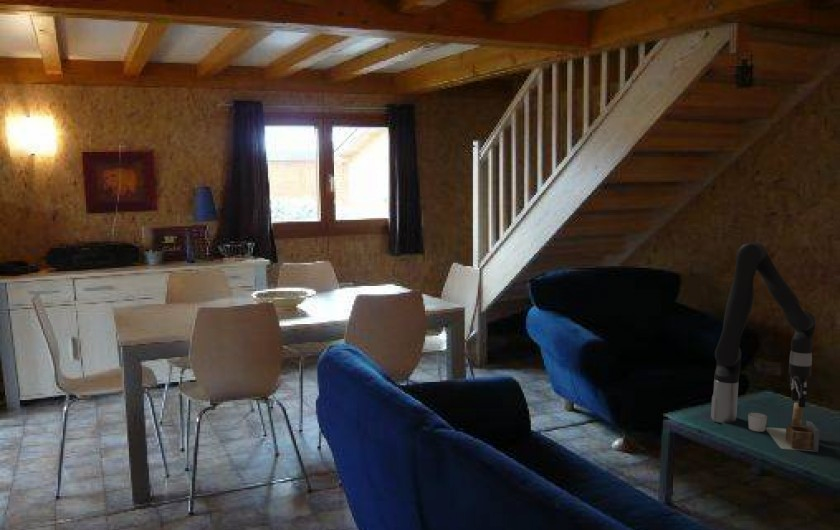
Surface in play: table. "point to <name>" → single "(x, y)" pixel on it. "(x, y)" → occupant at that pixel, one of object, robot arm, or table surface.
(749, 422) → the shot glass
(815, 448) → the wall
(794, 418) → the dowel
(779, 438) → the board
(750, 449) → the table surface
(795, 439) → the wooden open box
